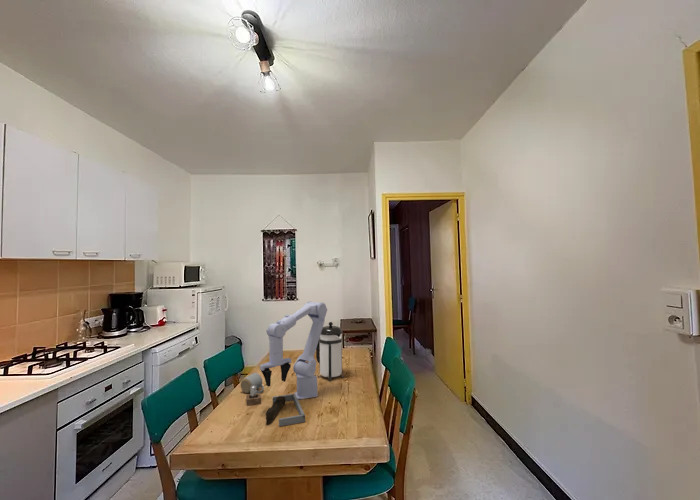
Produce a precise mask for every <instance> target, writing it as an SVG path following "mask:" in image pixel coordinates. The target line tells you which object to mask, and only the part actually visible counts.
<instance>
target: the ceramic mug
mask: <svg viewBox="0 0 700 500" xmlns="http://www.w3.org/2000/svg"><path fill="white" fill-rule="evenodd" d="M252 385H256V393H260V394H263V392H264V390H265V387H264V385H263V378H262V376H261V375H260V374H259V373H258V372H253V373H251V374H250V375H248V376H246V377H244V378H243V379H242V380H241V381H240V389H241V391H243V392H244V393H245V394H250V386H252ZM258 389H261V390H258Z"/></svg>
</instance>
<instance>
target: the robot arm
mask: <svg viewBox="0 0 700 500" xmlns="http://www.w3.org/2000/svg"><path fill="white" fill-rule="evenodd" d="M327 312H328V308H327V305H326V303H324V302H316V301H307V302H306V303H303V306H302V307H300V308H299V309H298V310H297V311H295V312H294V313H293V314H288V313H287V314H285V315H284V317H282V318H281V319H280V320H277V321H276V322H272V323H271V324H269V325H268V327H267V330H266V334H267V336H268V340H269V346H268V348H269V350H268V352H269V356H268V357H269V358H268V359H269V361H268V362H267V361H266V362H264V363H262V364H260V365H259V370H260V372H261V373H262V375H263V377H264V380H265V381H264V382H265V385H266V386H267V387H271V383H272V382H271V379H272V372H273V371H272V370H271V369H272V368H274V367H275V368H276V367H278V366H280V373H281V374H280V375H281V378H280V379H281V381H282V382H284V383H285V382H286V381H287V377H288V374H289V371H290V369H291V367H292V365H291V364H292V358H291V357H287V358H284V336H285V335H286V333H287V332H288V331H289V330H290V329H291V328H293V327H295V326H296V324H297V322H298V321H299V320H300V319H302V318H304V317H306V316H307V315H308V317H309V318H310V320H311V322H312V323H311V327H310V330H309V333H308V337H307V340H306V343H305V346H304V349H303V351H302V353H301V354H300V355H299V356H298V357H297V359H296V361H295V362H294V363H293V368H292V370H293V372H294V374H295V376H296V391H295V392H294V394H295V395H296V397H297V399H298V400H304V399H309V398H310V399H312V398H318V376H317V375H316V370H317V369H316V367H317V363H318V361H317V359H316V358H315V355H316V348H317V344H318V341H319V338H320V335H321V331H322V328H323V327H324V325H325V319H326V316H327Z"/></svg>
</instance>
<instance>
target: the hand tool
mask: <svg viewBox="0 0 700 500" xmlns="http://www.w3.org/2000/svg"><path fill="white" fill-rule="evenodd" d="M278 396H279V397H277V398H276V401H275V402H274V403H273V402H272V406H271V407H268V408H267V410H266V413H265V420H266V421H265V423H266V426H268V425H269V424H271V423H272V422H273V420H275V416H276V415H277V414H278V412H279V411H280V410H281V408H282V407H283V406H285V404H286V401H285V397H283V396H281V395H278Z"/></svg>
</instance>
